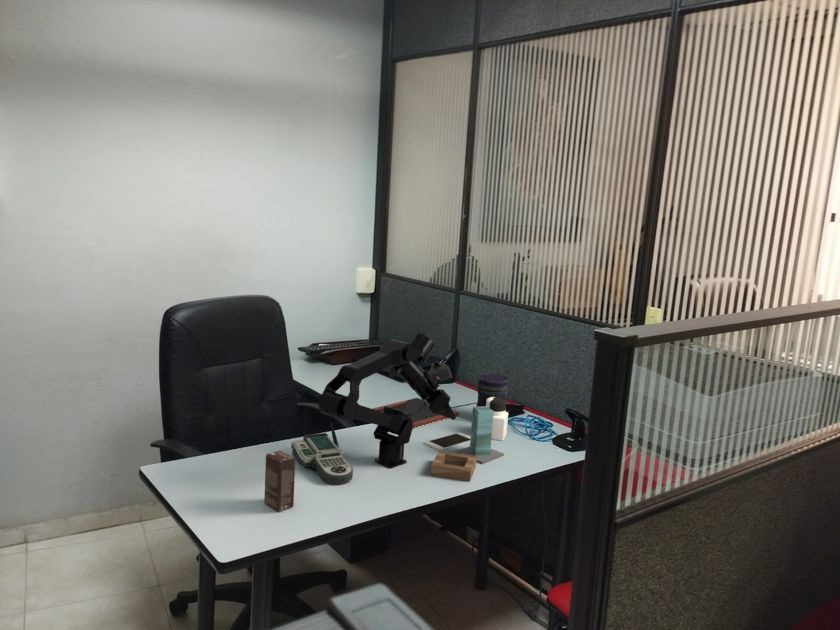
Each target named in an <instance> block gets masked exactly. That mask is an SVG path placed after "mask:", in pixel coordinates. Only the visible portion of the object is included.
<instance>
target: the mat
mask: <svg viewBox="0 0 840 630" xmlns="http://www.w3.org/2000/svg"><path fill="white" fill-rule="evenodd" d="M454 453H458V454H465V455H472V456H475V455H474V454H473V453H472V452H471V451H470V445H469V446H467V447H463V448H461V449H457V450H456V451H454ZM503 456H505V453H504V452H501V451H497V450H495V449H493V448H491V450H490V455H481V456H477V460H476V463H479V464H481V465H483V464H486V463H489V462H492V461H494V460H496V459H499V458H501V457H503Z"/></svg>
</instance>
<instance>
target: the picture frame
mask: <svg viewBox="0 0 840 630" xmlns="http://www.w3.org/2000/svg"><path fill="white" fill-rule="evenodd" d="M426 402H427V401H426V400H423V399H422V398H419V397H415V398H411V399H407V400H402V401H398V402H394V403H389V404H385V405H382V406H377V407H374V408H372V409H374V410H377V411H380V412H382V411H383V410H384V406H386V407H389V408H392V409H396V410H399V411H402V412H406V413H409V414H410V415H409V416H410V417H411V418H412V423H413V428H414V429H416V428H415V427H417V428H419V427H418V426H421V427H423V426H422V425H424V426H427V425H426V424H428V425H430V424H429V423H431V424H433V423H432V422H435V423H437V422H436V421H438V422H440V421H439V420H441V421H444V420H443V419H445V420H448V419H447V417H444V416H442V415H439V414H435V413H433V412H432V411H431V410H430V409H429V408H428V407H427V405H426ZM452 411H453V412H454V414H455V416H456V417H458V415H459V416H460V412H459V411H458V410H454V409H452Z"/></svg>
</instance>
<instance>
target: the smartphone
mask: <svg viewBox="0 0 840 630" xmlns="http://www.w3.org/2000/svg"><path fill="white" fill-rule="evenodd" d="M470 439H471V435H467V434H465V433H462V432H456V433H452V434H448V435H445V436H441V437H437V438H434V439H430V440H426V441H423V444H424V445H425V444H427V445H429V446H428V447H430V446H431V447H430V448H432V447H433V448H432V449H434V448H435V449H434V450H436V449H438V450H437V451H439V450H442V451H444V450H443V449H445V450H448V449H447V448H449V449H451V448H450V447H452V448H455V447H458V446H457V445H459V446H461V445H460V444H462V445H464V444H463V443H466V444H469V443H470ZM468 442H469V443H468ZM427 445H426V446H427ZM454 446H455V447H454Z"/></svg>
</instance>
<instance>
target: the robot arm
mask: <svg viewBox="0 0 840 630" xmlns="http://www.w3.org/2000/svg"><path fill="white" fill-rule="evenodd" d="M435 349H436V344H435V342H433V340H432V339H430V338H429V337H427V336H426V334H425V333H421V332H417V334H416V336H415V338H414V339H413V341H412V342H411V343H410V342H405V341H401V340H397V339H393V338H392V339H391V338H390V339H389V340H387V341H386V342H384V343H383V344H382V345H381V347H380V349H379V350H378V351H375V352H374V353H372V354H369V355H367V356H365V357H363V358H361V359H359V360H357V361H353V362H352V363H349V364H346V365H343V366H341V367H340V368H339V371H338V373H337V375H336V376H334V378H333V379H331V380H330V381H329V382H328V383H326V385H325V387H324V390H323V391H322V393H321V396H320V398H319V400H318V407H319V412H320V413H322V414H324V415H327V416H329V417H333V418H336V419H338V420H341V421H352V420H354V419H355V420H359V421H363V422H365V423H369V424H372V425H373V424H374V425H376V428H375V429H374V431H373V436H374V439H375V440H379V445H378V446H379V449H378V457H376V458H375V459H374V462H376V463H378V464H380V465H383V466H385V467H387V468H389V469H393V468H395V467H398V466H401V465H403V464H407V459H404V457H405V455H404V453H405V452H404V451H405V445H406V444H409V442H410V439H411V435H412V432H413V430H414V429H413V423H412V418H411V417H410V416H409V415H410V414H409V413H406V412H402V411H399V410H396V409H392V408H389V407H386V406H385V405H383V406H384V410H383V411H382V412H380V411H377V410H374V409H373V408H370V407H367V406H364V405H360V404H359V403H358V401H359V399H360V384H361V383H362V380H364V379H366V378H368V377H370V376H372V375H374V374H377V373H379V372H381V371H383V370H385V369H387V368H389V377H390V378H393V377H396V376H397V377H398V376H400V377H401V378H402V379H403V380H404V382H405V383H406V384H408V386H409V387H410V388H411V389H412V390H413V391H414V392H415V393H416V395H417V396H418V397H420V399H422V400H425V401H427V402H426V405H427V407H428V408H429V409H430V410H431V411H432V412H433V413H435V414H439V415H442V416H444V417H447V418H448V419H450V420H453V421H454V420H456V419H457V416H455V414H454V412H453V411H452V410H453V408H452V407H451V405H450V401H451V398H452V397H451V396H450V395H449V394H448V393H447V392H446V391H445V390H444V389H443V388H442V389H439V387H440V383H442V382H444V381H447V380H451V379H452V378H453V373H452V372H451V369H450V367H449V366H448V364H446V363H443V362H442V363H440V362H438V360H435V361H433V362H431V368H430V369H429V370H428V371H426V370H425V369H423V368H422V367H421V366H420V365H419V364H425V362H426V361H427V360H428V358H429V357H430V356H431V355H432V352H433V351H434V350H435ZM347 382H349V393H348V395H346V394H341V393H338V392H337V391H338V390H339V389H341V387H343V385H345V384H346V383H347Z"/></svg>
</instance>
